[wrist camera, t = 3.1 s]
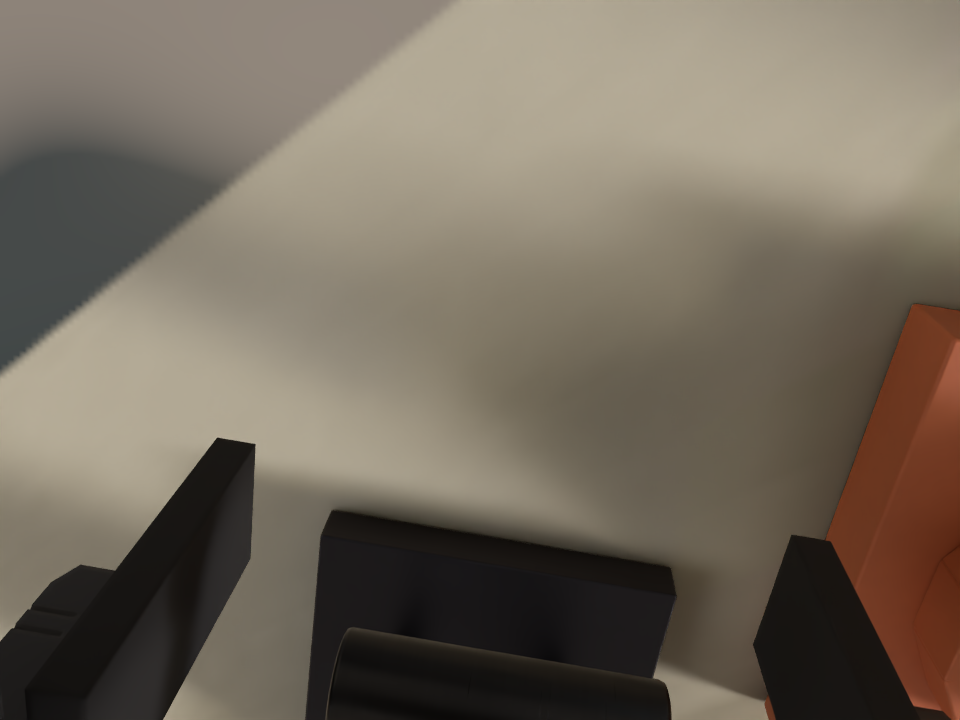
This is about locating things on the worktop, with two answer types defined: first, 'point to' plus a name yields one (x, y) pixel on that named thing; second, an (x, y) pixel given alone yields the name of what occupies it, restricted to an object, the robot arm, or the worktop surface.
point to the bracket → (483, 598)
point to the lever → (477, 685)
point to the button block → (911, 512)
